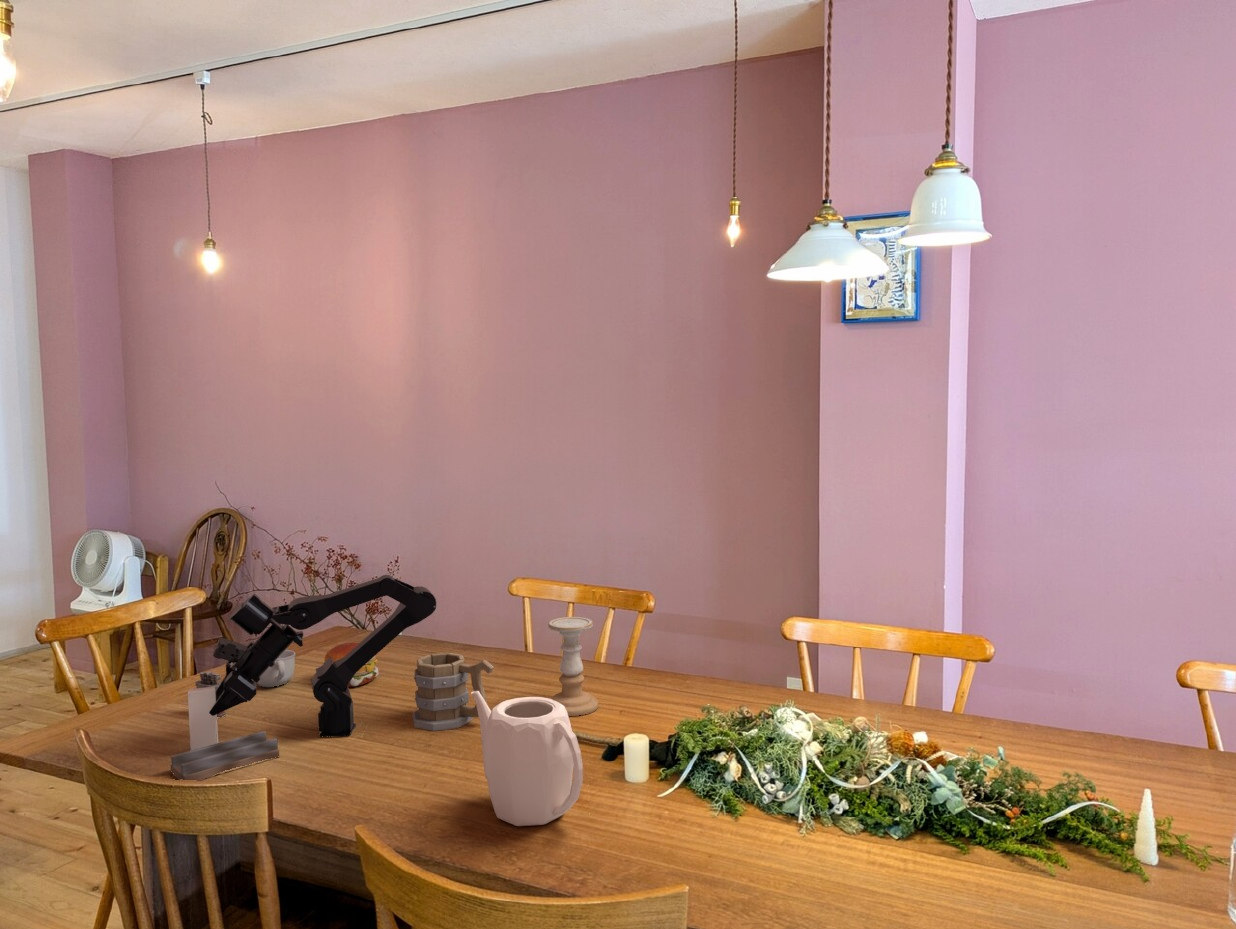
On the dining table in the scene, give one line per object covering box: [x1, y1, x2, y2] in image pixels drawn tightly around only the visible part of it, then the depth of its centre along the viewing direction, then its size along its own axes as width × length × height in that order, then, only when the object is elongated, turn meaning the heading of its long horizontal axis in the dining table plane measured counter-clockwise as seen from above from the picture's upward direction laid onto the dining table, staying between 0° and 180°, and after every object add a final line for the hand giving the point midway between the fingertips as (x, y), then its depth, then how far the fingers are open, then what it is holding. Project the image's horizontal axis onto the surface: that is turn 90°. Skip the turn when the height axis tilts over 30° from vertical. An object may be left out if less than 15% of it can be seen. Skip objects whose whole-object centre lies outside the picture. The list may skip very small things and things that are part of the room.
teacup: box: [253, 649, 296, 688], centre depth 224 cm, size 14×11×8 cm
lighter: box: [195, 670, 227, 717], centre depth 204 cm, size 8×3×10 cm, turn 62°
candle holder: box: [547, 616, 600, 717], centre depth 205 cm, size 12×12×20 cm
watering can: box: [470, 690, 584, 827], centre depth 154 cm, size 16×27×19 cm, turn 50°
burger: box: [323, 641, 379, 688], centre depth 227 cm, size 14×14×10 cm
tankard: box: [412, 652, 495, 732], centre depth 197 cm, size 20×13×15 cm, turn 62°
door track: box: [170, 730, 280, 781], centre depth 176 cm, size 18×8×4 cm, turn 134°
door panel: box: [187, 686, 219, 751], centre depth 182 cm, size 5×2×13 cm, turn 112°
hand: (211, 707), depth 183 cm, fingers open, 9 cm apart
